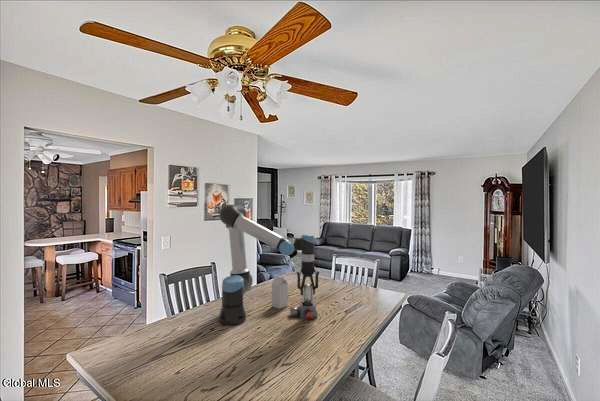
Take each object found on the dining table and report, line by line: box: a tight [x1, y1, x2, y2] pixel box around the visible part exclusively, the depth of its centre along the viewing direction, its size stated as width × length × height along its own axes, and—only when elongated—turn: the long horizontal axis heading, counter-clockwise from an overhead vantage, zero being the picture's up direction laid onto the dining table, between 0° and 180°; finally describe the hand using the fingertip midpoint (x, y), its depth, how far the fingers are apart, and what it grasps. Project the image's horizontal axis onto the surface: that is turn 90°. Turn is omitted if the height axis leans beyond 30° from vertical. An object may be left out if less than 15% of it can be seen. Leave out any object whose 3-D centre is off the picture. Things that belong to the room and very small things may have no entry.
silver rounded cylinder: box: [303, 283, 312, 306], centre depth 169 cm, size 5×5×12 cm
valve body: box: [289, 300, 318, 321], centre depth 167 cm, size 15×12×6 cm
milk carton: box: [271, 275, 288, 310], centre depth 182 cm, size 7×7×19 cm
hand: (307, 300), depth 169 cm, fingers closed on silver rounded cylinder, 5 cm apart
